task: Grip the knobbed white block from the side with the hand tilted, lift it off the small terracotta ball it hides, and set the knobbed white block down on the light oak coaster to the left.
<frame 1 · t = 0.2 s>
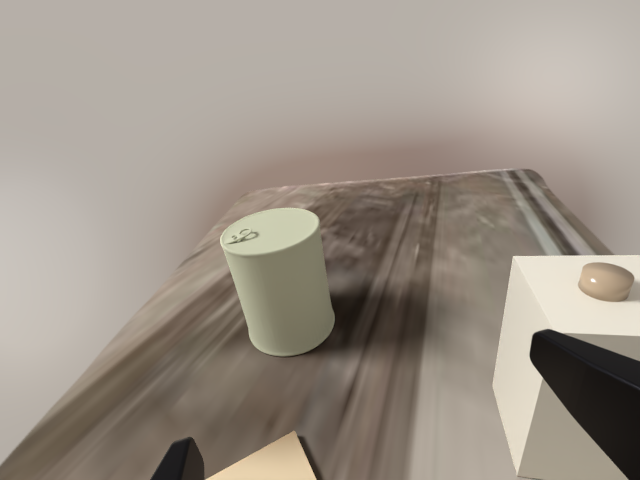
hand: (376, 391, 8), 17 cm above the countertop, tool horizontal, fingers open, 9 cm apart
can: (292, 324, 36), on the countertop
knobbed white block: (556, 431, 23), on the countertop
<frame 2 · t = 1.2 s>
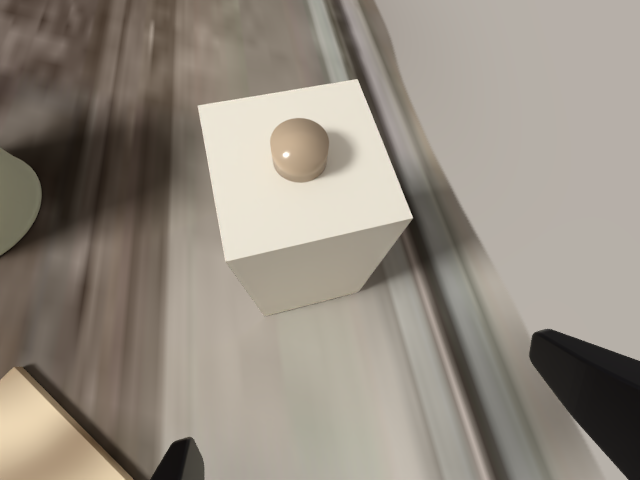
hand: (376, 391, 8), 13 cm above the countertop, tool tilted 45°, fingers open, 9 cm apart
knobbed white block: (300, 259, 23), on the countertop
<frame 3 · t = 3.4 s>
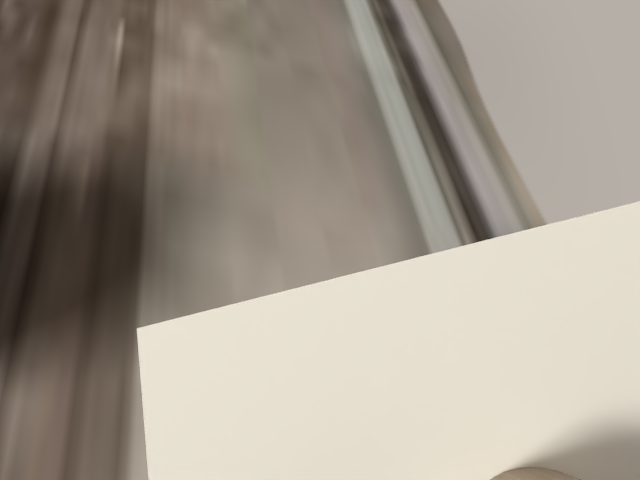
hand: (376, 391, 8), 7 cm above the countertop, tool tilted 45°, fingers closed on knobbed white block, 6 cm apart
knobbed white block: (353, 416, 14), on the countertop, touching gripper
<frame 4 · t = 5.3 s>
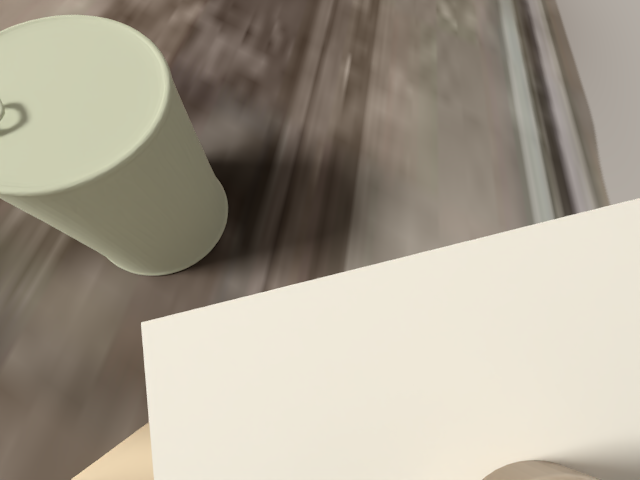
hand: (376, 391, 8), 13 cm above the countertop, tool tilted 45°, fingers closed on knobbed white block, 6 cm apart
can: (164, 215, 24), on the countertop
knobbed white block: (354, 414, 14), point 7 cm above the countertop, touching gripper
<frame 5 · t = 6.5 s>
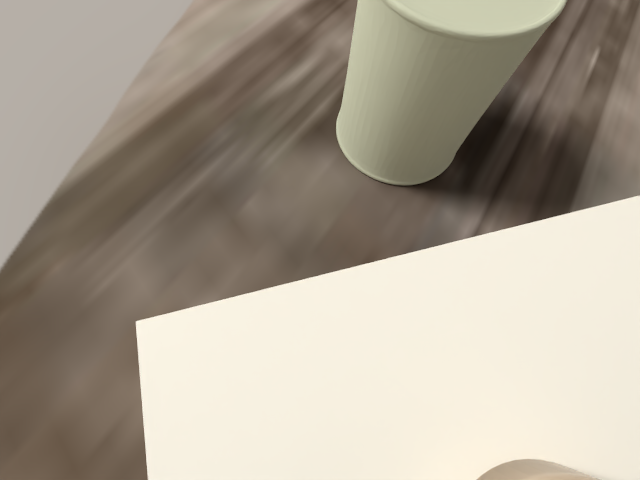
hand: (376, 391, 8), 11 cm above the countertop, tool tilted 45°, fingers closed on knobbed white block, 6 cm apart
can: (395, 134, 25), on the countertop
knobbed white block: (353, 414, 14), point 5 cm above the countertop, touching gripper
when the fingers open (8 cm above the countertop, at t = 7.5 s): knobbed white block stays where it is, resting on coaster.
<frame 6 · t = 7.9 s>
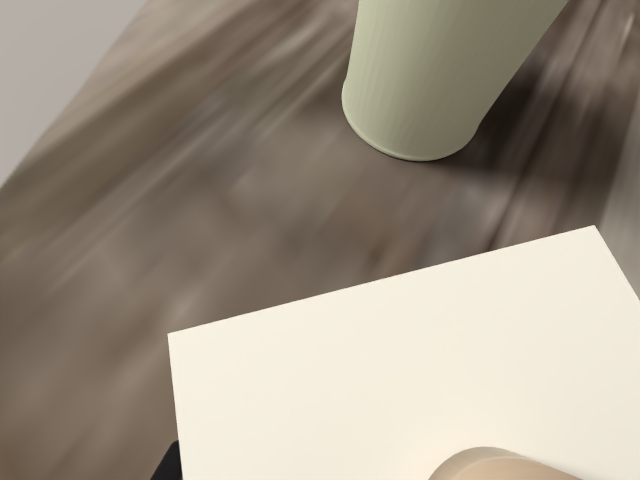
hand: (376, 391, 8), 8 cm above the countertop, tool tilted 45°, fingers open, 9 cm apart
can: (409, 105, 22), on the countertop
knobbed white block: (350, 412, 15), point 1 cm above the countertop, touching coaster
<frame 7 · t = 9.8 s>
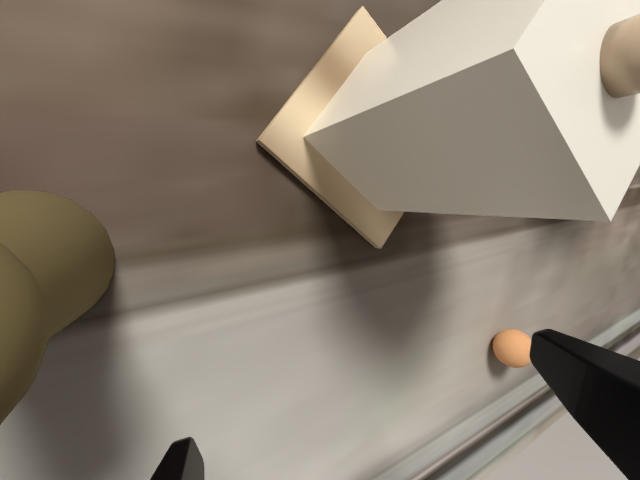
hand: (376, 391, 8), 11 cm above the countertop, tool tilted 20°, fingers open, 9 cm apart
knobbed white block: (372, 134, 20), point 1 cm above the countertop, touching coaster
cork: (33, 261, 14), on the countertop
ball: (513, 348, 27), on the countertop
coaster: (366, 136, 21), on the countertop
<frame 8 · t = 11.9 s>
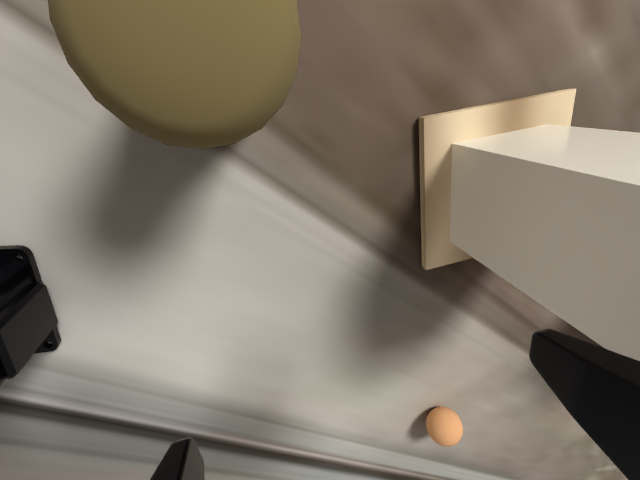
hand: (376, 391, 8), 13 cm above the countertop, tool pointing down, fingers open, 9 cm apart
knobbed white block: (496, 185, 22), point 1 cm above the countertop, touching coaster
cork: (214, 65, 16), on the countertop
ball: (444, 426, 29), on the countertop
coaster: (489, 183, 22), on the countertop
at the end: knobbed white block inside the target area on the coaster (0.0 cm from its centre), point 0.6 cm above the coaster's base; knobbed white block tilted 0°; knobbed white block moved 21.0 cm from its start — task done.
